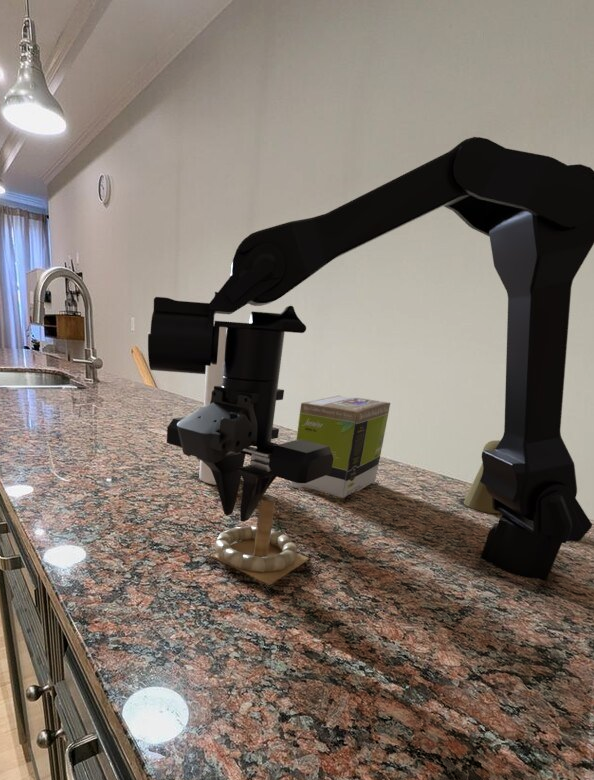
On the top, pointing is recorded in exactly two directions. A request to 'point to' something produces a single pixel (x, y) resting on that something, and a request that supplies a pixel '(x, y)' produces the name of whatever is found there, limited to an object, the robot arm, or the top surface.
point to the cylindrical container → (212, 379)
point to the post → (263, 545)
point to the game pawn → (481, 489)
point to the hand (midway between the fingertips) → (236, 517)
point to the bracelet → (255, 562)
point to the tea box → (345, 440)
